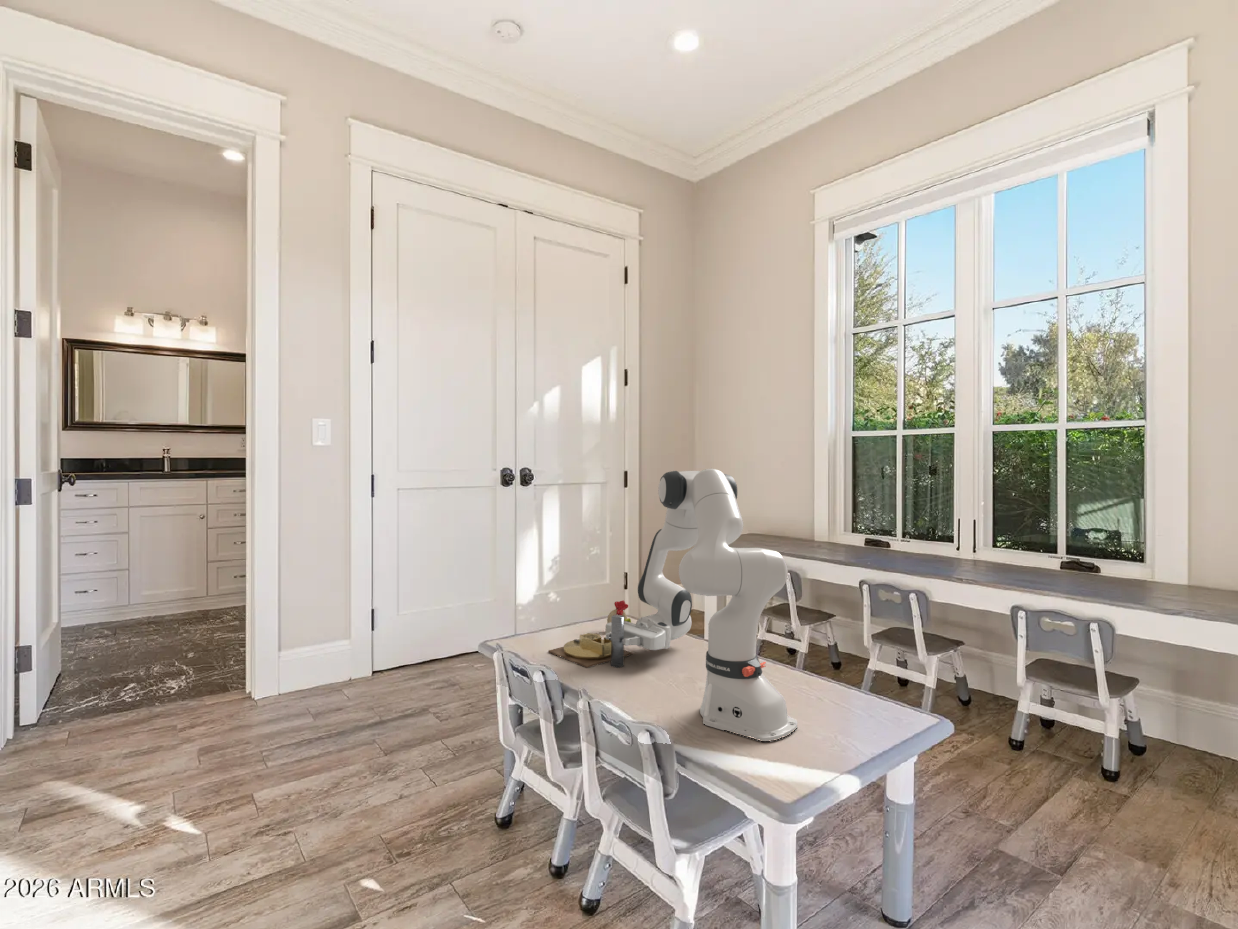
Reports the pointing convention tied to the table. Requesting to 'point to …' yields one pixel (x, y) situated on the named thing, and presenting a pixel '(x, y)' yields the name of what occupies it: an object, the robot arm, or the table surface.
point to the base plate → (583, 662)
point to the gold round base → (588, 647)
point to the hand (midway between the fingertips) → (615, 639)
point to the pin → (617, 640)
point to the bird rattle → (619, 611)
